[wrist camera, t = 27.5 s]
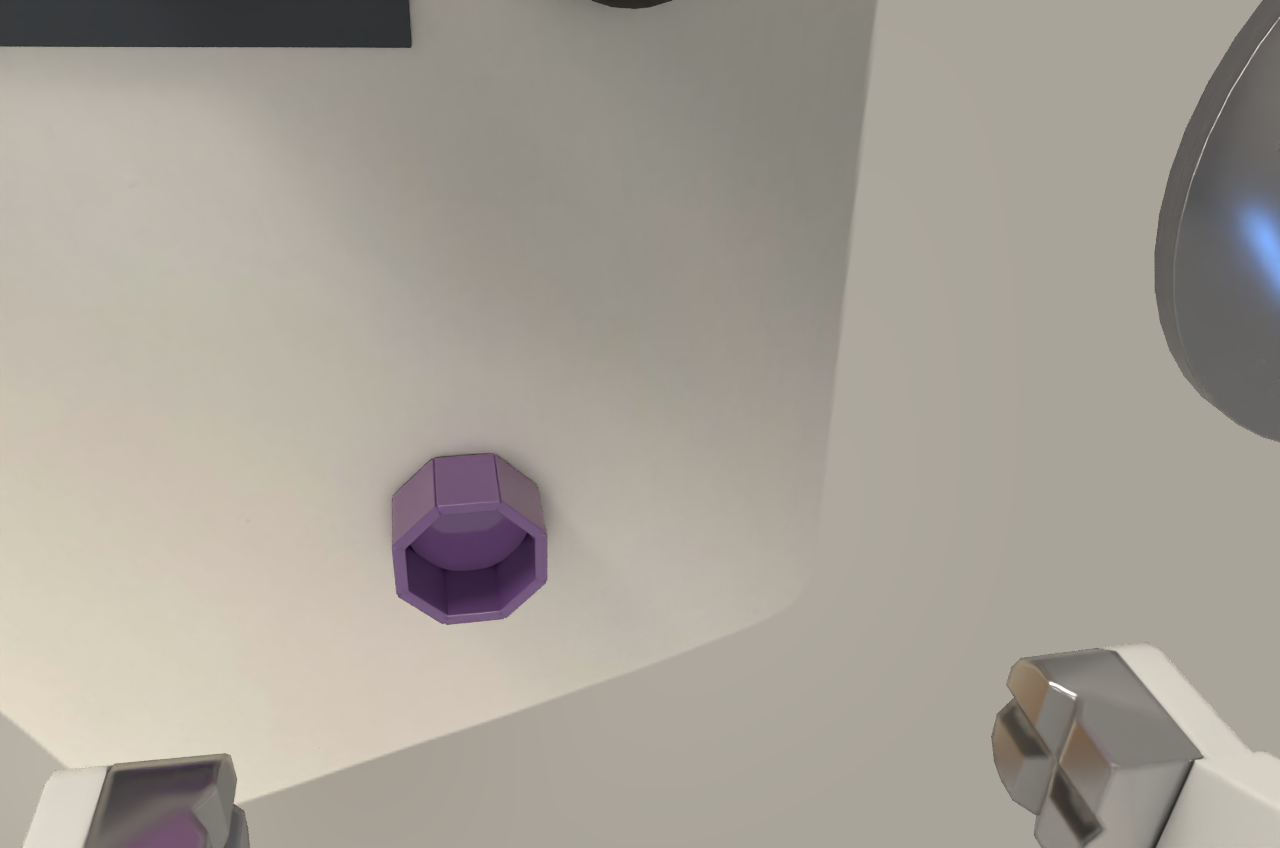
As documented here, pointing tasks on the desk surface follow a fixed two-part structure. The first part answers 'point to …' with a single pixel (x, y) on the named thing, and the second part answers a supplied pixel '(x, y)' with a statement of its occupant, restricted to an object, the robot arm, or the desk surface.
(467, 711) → the desk surface
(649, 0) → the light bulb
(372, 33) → the mat
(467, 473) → the dish
